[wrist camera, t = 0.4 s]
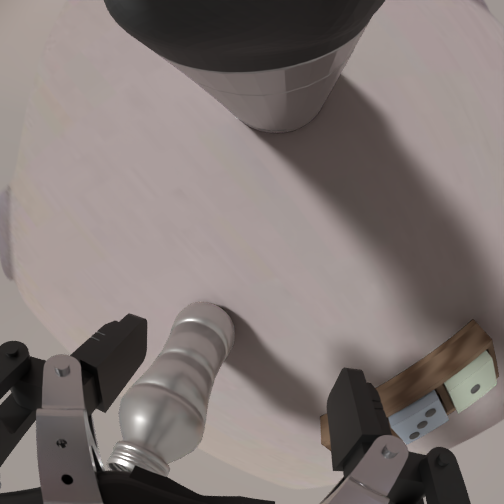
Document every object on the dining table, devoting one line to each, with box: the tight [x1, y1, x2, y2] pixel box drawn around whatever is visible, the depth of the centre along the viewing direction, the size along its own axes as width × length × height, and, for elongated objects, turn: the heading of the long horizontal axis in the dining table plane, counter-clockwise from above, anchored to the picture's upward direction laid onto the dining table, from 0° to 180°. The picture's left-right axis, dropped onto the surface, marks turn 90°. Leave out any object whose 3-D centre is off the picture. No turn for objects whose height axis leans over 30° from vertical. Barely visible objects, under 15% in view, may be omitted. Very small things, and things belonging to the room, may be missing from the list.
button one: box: [444, 350, 497, 414], centre depth 23 cm, size 6×6×3 cm
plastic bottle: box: [107, 302, 235, 477], centre depth 21 cm, size 6×7×20 cm
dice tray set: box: [320, 320, 499, 451], centre depth 28 cm, size 24×9×5 cm, turn 130°
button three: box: [388, 390, 449, 444], centre depth 26 cm, size 6×6×3 cm
